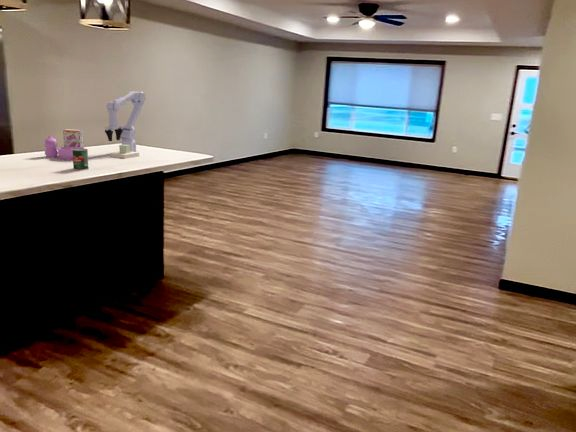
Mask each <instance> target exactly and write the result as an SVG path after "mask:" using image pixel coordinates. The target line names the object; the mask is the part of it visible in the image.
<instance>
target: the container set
mask: <svg viewBox="0 0 576 432" xmlns="http://www.w3.org/2000/svg"><path fill="white" fill-rule="evenodd" d="M44 147H45V148H46V149H45V151H44V155H45V156H46V157H47V158H57V156H58V160H60V159H61V160H62V161H73V150H72V149H77V148H82V147H64V146H61V147H58V143H57V139H56V138H54V137H53V135H48V137H47V138H45V139H44ZM57 147H58V148H57ZM56 148H57V149H56ZM83 149H85V147H84V148H83Z"/></svg>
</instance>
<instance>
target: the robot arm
mask: <svg viewBox="0 0 576 432" xmlns="http://www.w3.org/2000/svg"><path fill="white" fill-rule="evenodd" d="M146 99H147V98H146V94H145V92H144V91H136V90H135V91H133V90H131V91H128V93H127V94H126V95H124V96H123V97H121V96H118V97H117V98H116V99H113V100H112V101H110V100H109V101H108V102H107V104H106V109H107V113H108V126H105V127H104V132H105V134H106V136H107V139H108V140H107V141H109V142H112V141H113V135H114V134H113V133H115V138H116V141H120V140H121V145H130V148H131V152H138V151H137V143H136V140H135V137H136V132H137V131H136V129H135V127H136V124H137V122H138V119H139V116H140V115H141V112H142V110H143V106H144V104H145V101H146ZM129 101H130V102H131V104H132V106H133V108H132V110H131V113H130V115H129V117H128V119H127V122H126V124H125V125H124V126H122V125H119V110H120V108H122V107H124V106H125V105H126V103H127V102H129Z"/></svg>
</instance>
